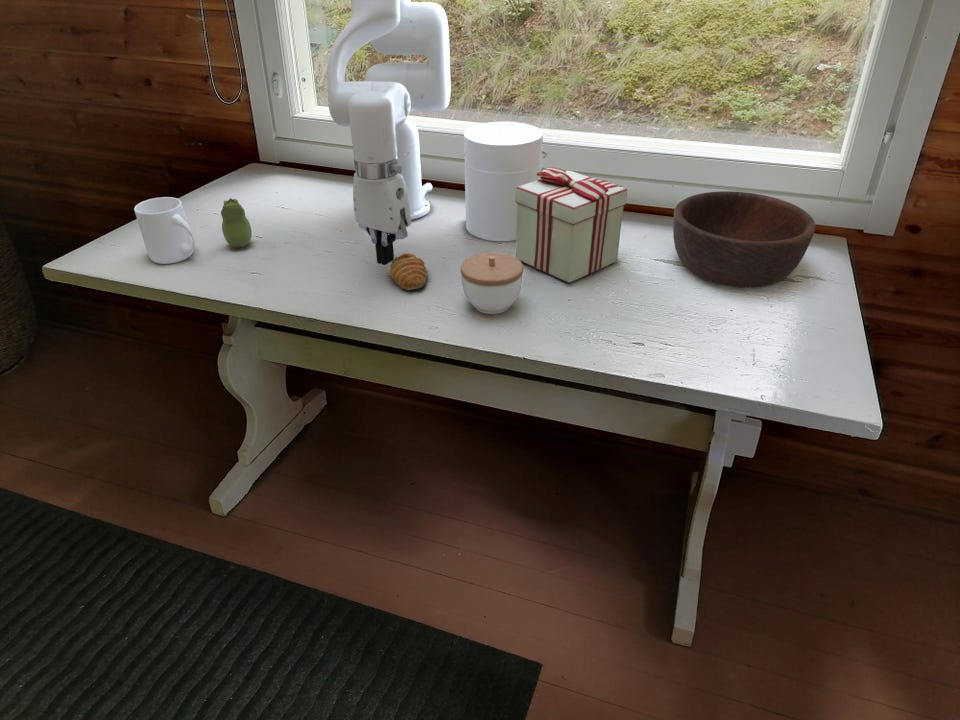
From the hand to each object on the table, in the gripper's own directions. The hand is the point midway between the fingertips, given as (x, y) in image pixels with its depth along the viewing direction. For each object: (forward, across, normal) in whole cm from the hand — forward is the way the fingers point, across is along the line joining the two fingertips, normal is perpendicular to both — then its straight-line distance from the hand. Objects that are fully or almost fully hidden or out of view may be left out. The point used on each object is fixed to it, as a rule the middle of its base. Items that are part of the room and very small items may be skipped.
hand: (385, 261), depth 132 cm
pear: (+2, +34, +6) cm, 34 cm away
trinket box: (+3, -24, 0) cm, 24 cm away
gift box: (+2, -27, -24) cm, 36 cm away
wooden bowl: (+3, -56, -37) cm, 67 cm away
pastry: (+3, -6, 0) cm, 6 cm away
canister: (+2, -8, -30) cm, 31 cm away
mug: (+2, +40, +16) cm, 44 cm away
